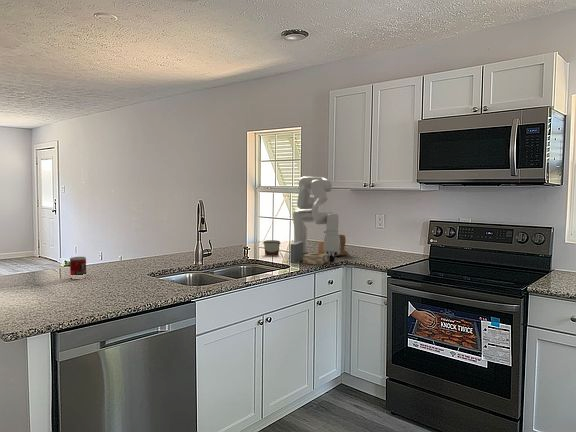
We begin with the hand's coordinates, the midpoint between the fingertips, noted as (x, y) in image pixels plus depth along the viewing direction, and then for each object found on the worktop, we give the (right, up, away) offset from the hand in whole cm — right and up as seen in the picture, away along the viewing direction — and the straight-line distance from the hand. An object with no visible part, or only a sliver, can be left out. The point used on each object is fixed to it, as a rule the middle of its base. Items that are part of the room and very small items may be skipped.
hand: (331, 262), depth 282 cm
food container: (-39, +1, +37) cm, 53 cm away
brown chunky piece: (+8, +1, +35) cm, 36 cm away
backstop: (-22, 0, +10) cm, 24 cm away
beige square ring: (-10, -1, +5) cm, 11 cm away
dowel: (-5, 0, +16) cm, 17 cm away
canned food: (-139, -4, -45) cm, 146 cm away
